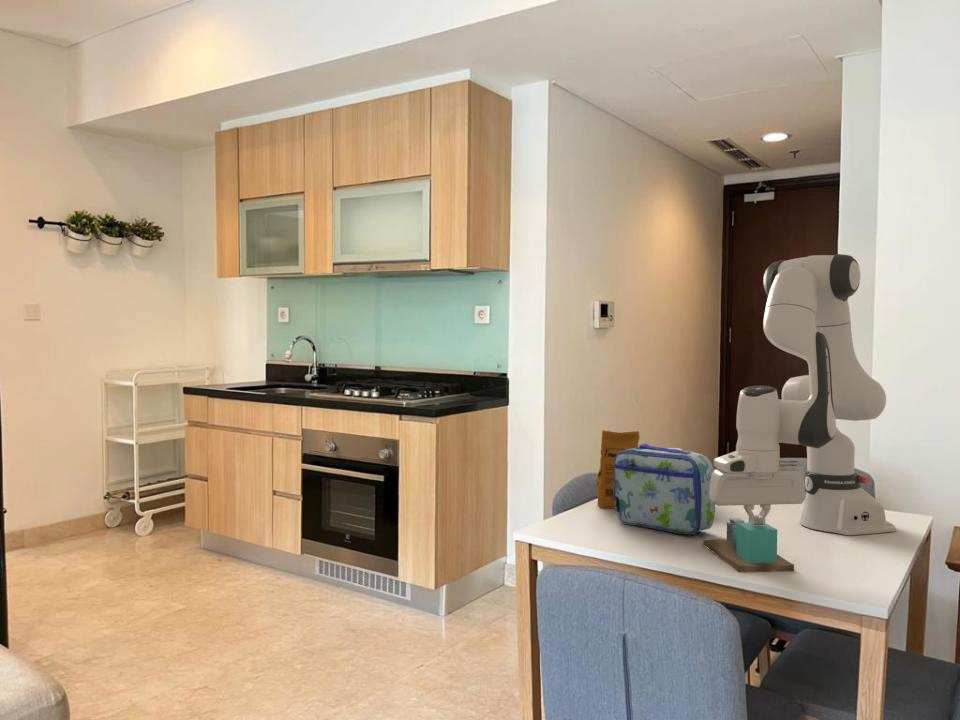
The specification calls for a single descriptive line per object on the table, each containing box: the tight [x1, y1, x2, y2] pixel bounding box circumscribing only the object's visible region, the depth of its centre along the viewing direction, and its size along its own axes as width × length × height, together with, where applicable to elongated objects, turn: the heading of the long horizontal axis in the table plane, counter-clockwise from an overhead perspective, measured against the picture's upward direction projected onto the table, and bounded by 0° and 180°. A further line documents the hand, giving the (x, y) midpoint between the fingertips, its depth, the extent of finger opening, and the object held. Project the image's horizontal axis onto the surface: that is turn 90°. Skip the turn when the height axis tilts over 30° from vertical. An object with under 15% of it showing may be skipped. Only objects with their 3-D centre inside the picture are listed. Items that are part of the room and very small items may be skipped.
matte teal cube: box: [736, 522, 778, 563], centre depth 161 cm, size 6×6×7 cm
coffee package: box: [596, 429, 640, 509], centre depth 214 cm, size 10×12×22 cm
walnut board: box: [702, 538, 795, 573], centre depth 166 cm, size 12×20×1 cm, turn 4°
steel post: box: [726, 517, 745, 548], centre depth 171 cm, size 3×3×6 cm
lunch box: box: [613, 443, 716, 536], centre depth 191 cm, size 26×11×21 cm, turn 43°
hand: (756, 524), depth 161 cm, fingers closed
